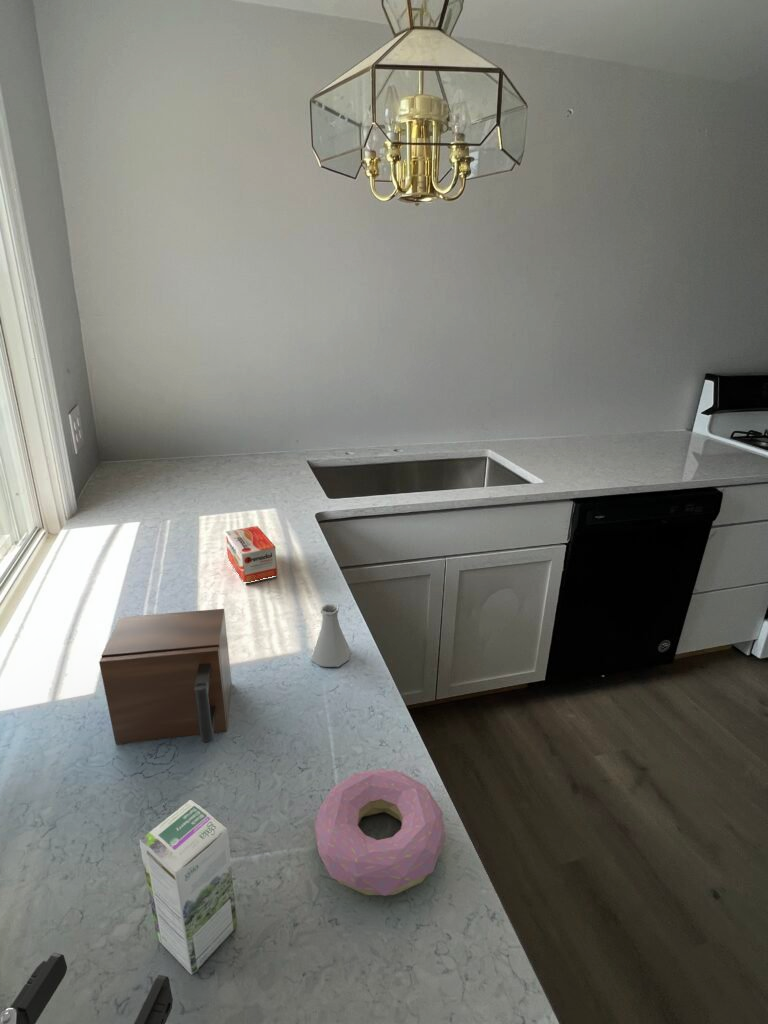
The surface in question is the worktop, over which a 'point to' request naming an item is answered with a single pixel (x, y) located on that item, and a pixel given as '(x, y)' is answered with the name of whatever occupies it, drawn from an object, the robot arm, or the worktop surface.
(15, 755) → the worktop surface
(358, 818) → the donut
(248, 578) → the medicine box
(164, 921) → the syrup box
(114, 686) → the door
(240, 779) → the worktop surface
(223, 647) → the cabinet
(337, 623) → the flask
